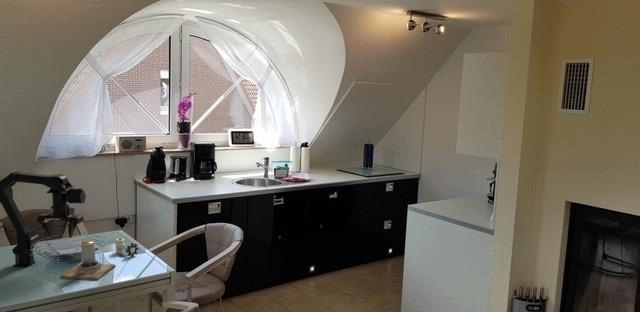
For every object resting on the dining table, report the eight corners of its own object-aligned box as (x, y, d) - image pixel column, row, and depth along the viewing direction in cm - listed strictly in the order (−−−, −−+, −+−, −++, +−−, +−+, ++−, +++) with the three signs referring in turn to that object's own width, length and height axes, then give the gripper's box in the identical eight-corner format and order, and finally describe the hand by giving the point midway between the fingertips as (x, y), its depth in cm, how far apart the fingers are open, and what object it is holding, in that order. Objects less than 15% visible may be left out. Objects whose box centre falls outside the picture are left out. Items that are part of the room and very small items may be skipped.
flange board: (61, 277, 213) (60, 269, 212) (81, 264, 228) (81, 257, 228) (97, 280, 212) (97, 272, 211) (115, 266, 227) (115, 259, 227)
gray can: (82, 272, 216) (81, 244, 215) (82, 268, 221) (81, 241, 219) (95, 271, 219) (94, 243, 217) (95, 266, 223) (94, 239, 221)
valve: (111, 253, 245) (127, 258, 239) (111, 240, 245) (126, 245, 238) (123, 249, 251) (138, 255, 244) (123, 237, 250) (138, 241, 244)
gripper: (89, 200, 230) (90, 233, 233) (50, 198, 232) (51, 231, 234) (76, 205, 219) (77, 240, 222) (35, 203, 220) (36, 238, 223)
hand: (60, 237), depth 225 cm, fingers open, 9 cm apart
